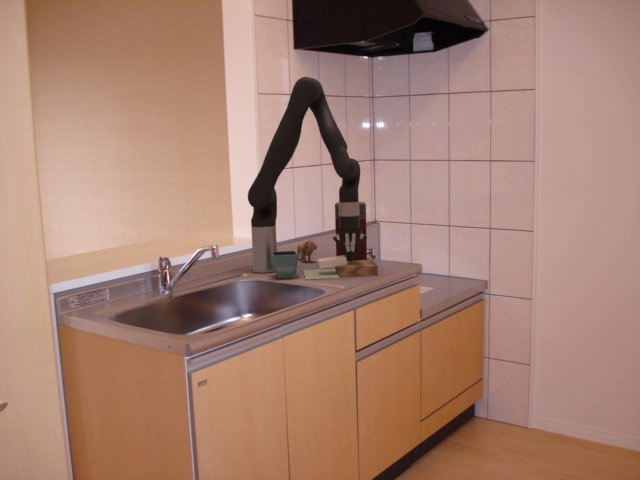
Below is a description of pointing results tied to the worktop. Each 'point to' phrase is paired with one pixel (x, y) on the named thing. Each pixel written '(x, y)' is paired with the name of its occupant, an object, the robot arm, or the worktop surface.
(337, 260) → the beige flat block
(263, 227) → the robot arm
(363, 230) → the red drink dispenser
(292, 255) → the flower pot
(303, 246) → the lion figurine
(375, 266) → the brown wooden block
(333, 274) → the mat
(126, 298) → the worktop surface
